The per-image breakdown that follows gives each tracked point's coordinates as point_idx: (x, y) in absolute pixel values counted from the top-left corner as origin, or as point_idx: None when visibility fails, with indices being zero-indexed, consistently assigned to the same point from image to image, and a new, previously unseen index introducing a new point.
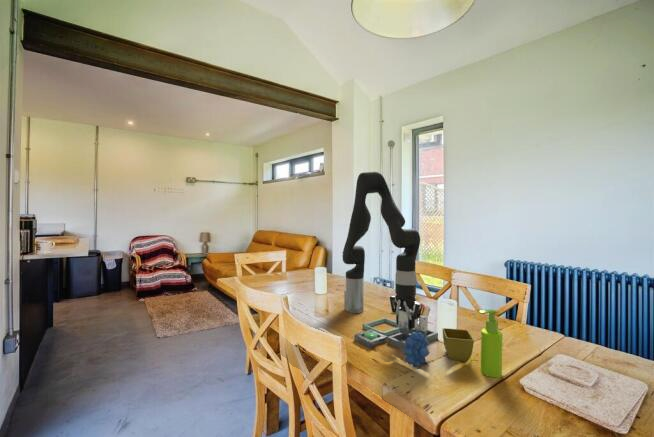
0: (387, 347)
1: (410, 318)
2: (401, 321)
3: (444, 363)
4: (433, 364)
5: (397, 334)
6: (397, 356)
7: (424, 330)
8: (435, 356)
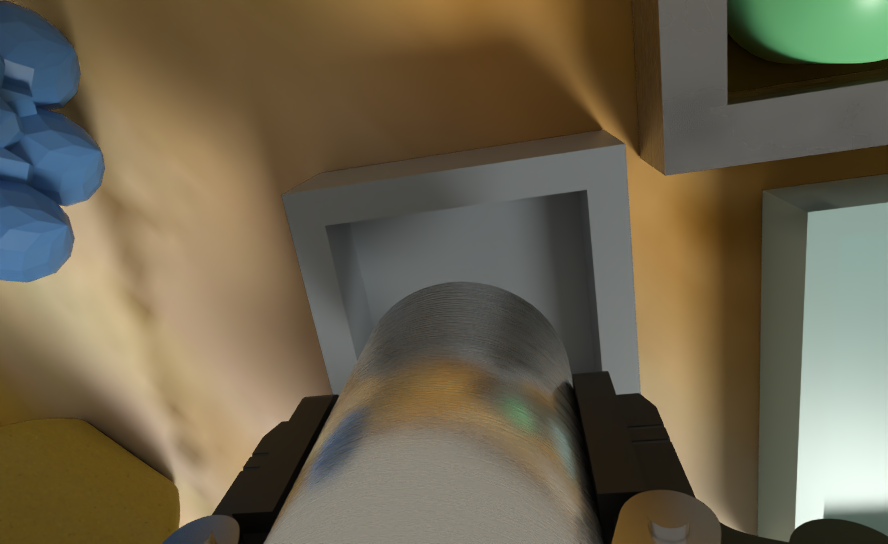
0: (573, 100)
1: (177, 538)
2: (401, 383)
3: (70, 352)
4: (77, 259)
5: (614, 327)
6: (330, 51)
7: None
8: (197, 385)
